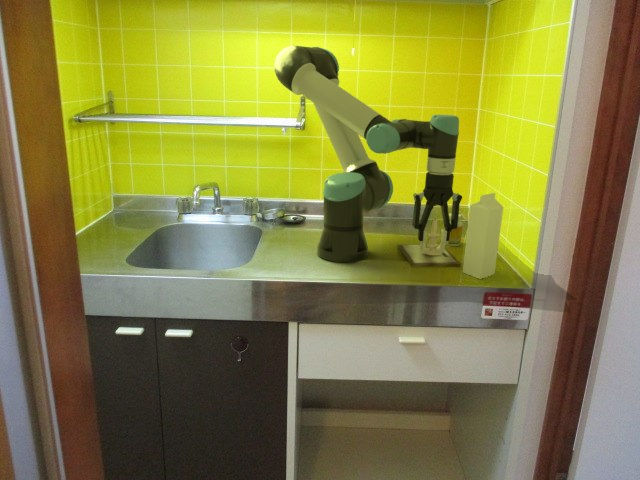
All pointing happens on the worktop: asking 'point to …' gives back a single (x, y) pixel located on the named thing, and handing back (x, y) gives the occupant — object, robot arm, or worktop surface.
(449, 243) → the supplement bottle
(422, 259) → the writing board
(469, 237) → the milk
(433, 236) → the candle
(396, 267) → the worktop surface
